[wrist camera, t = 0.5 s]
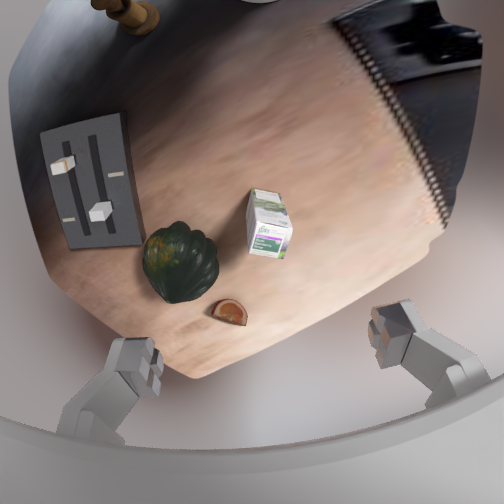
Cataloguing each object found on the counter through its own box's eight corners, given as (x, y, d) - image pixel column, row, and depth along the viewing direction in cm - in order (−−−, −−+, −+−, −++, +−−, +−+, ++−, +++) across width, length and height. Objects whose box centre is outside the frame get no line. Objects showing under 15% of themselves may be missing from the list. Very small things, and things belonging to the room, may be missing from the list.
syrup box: (244, 214, 57) (247, 256, 45) (251, 186, 54) (256, 221, 42) (273, 219, 58) (283, 262, 46) (281, 192, 55) (294, 229, 43)
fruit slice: (251, 303, 70) (252, 318, 66) (237, 320, 73) (238, 335, 69) (220, 290, 67) (219, 305, 63) (207, 308, 70) (206, 323, 66)
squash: (210, 210, 51) (147, 269, 43) (244, 272, 59) (195, 329, 51) (167, 209, 60) (115, 256, 53) (200, 261, 68) (156, 308, 61)
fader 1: (60, 158, 45) (50, 164, 41) (73, 155, 45) (63, 161, 41) (63, 168, 46) (52, 175, 43) (75, 165, 46) (65, 172, 43)
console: (47, 129, 44) (39, 133, 42) (125, 110, 45) (118, 113, 42) (75, 241, 58) (69, 249, 56) (146, 236, 59) (142, 245, 56)
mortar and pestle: (158, 0, 34) (123, -31, 19) (160, 31, 37) (124, 11, 22) (122, 9, 34) (74, -13, 19) (124, 40, 37) (75, 28, 22)
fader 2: (97, 202, 50) (88, 211, 47) (110, 201, 50) (102, 210, 47) (99, 212, 51) (91, 221, 48) (112, 210, 52) (105, 220, 48)
